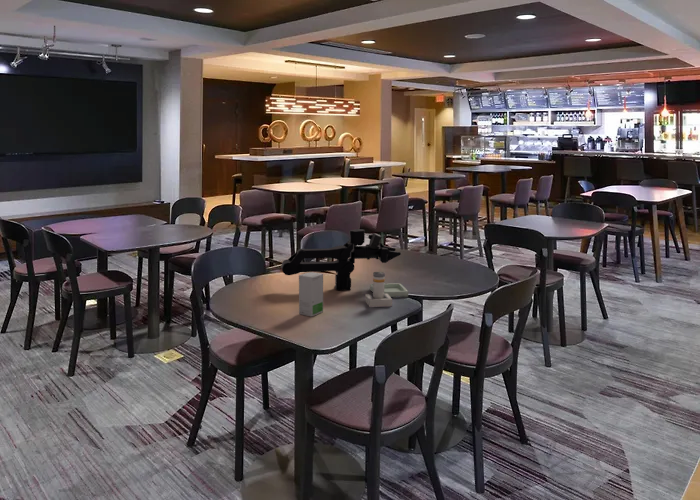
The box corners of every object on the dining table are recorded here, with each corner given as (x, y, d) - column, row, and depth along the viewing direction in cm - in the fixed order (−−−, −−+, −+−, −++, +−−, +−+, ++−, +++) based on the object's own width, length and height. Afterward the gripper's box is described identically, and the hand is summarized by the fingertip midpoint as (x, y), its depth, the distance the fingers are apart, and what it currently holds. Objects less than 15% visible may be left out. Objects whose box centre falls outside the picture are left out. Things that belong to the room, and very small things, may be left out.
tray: (376, 298, 248) (376, 292, 247) (369, 289, 261) (369, 284, 261) (408, 296, 250) (408, 291, 250) (399, 288, 264) (400, 283, 263)
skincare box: (311, 317, 221) (311, 277, 218) (297, 314, 225) (297, 275, 222) (324, 311, 228) (324, 273, 225) (310, 308, 232) (310, 271, 229)
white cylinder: (373, 305, 237) (374, 274, 235) (371, 302, 242) (372, 271, 239) (385, 305, 238) (386, 274, 236) (382, 301, 243) (383, 271, 240)
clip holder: (369, 307, 235) (369, 300, 234) (365, 301, 243) (365, 294, 243) (392, 306, 237) (392, 299, 236) (387, 300, 245) (387, 293, 244)
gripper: (368, 238, 250) (403, 237, 253) (360, 231, 268) (393, 230, 271) (368, 263, 252) (403, 262, 255) (360, 254, 270) (392, 253, 273)
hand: (397, 251), depth 263 cm, fingers open, 9 cm apart
